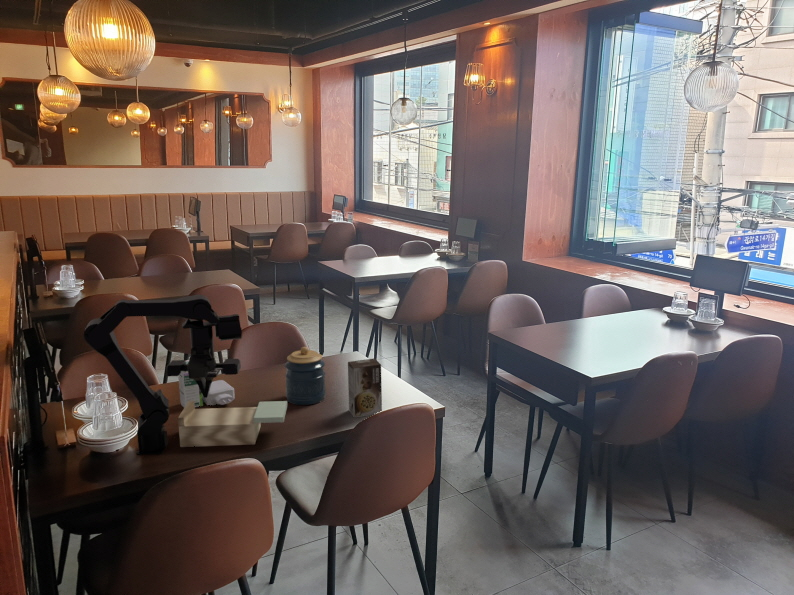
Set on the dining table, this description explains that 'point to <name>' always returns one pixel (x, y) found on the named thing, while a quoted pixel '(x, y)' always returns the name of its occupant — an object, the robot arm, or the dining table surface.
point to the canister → (305, 377)
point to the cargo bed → (217, 426)
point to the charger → (219, 393)
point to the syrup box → (189, 390)
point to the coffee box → (364, 387)
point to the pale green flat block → (270, 412)
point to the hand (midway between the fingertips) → (206, 397)
